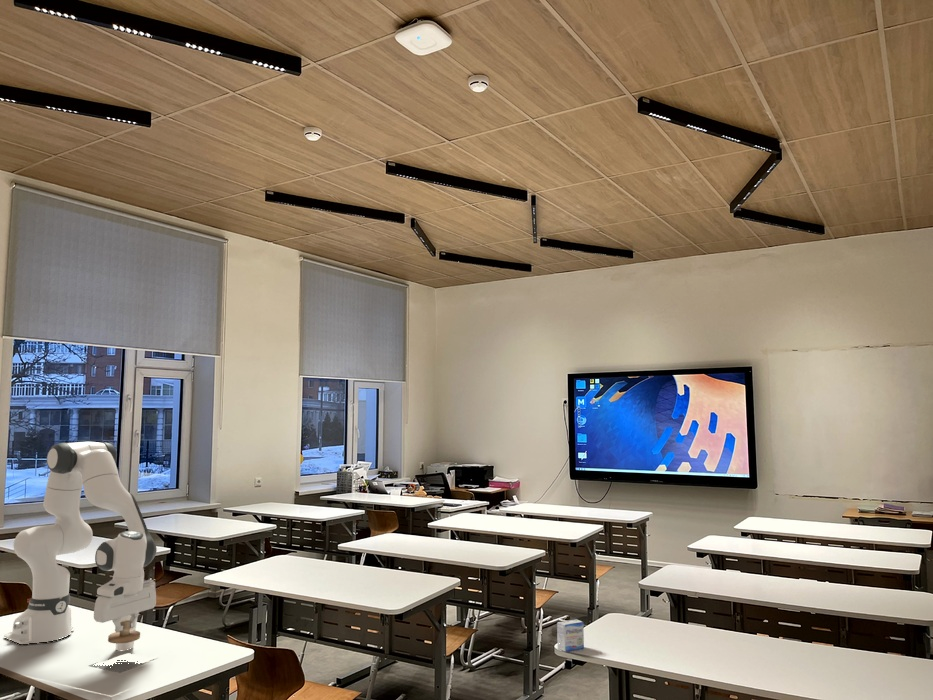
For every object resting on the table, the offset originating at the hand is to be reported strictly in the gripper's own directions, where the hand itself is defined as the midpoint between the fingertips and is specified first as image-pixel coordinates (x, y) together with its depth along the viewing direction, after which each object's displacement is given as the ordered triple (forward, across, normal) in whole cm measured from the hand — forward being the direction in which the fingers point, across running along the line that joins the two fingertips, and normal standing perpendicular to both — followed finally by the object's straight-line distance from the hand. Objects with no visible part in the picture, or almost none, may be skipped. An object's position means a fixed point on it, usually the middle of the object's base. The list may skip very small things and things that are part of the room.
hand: (124, 629), depth 211 cm
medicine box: (+7, -71, +125) cm, 144 cm away
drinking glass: (+10, -9, -10) cm, 17 cm away
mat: (+10, 0, +1) cm, 10 cm away
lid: (+3, 0, 0) cm, 3 cm away
